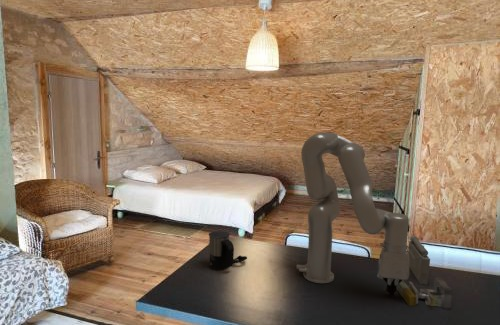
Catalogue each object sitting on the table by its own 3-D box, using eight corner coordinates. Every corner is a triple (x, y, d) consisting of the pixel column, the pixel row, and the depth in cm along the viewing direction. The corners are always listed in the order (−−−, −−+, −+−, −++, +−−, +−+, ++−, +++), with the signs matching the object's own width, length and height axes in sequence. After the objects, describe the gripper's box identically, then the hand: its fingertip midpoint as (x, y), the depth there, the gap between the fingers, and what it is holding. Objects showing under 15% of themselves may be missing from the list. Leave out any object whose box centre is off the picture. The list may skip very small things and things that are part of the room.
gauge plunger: (416, 306, 117) (417, 295, 117) (407, 292, 127) (408, 281, 126) (450, 309, 116) (451, 298, 115) (438, 295, 125) (439, 284, 125)
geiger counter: (434, 252, 132) (416, 231, 156) (417, 250, 133) (401, 230, 157) (430, 285, 134) (413, 259, 158) (413, 283, 135) (399, 258, 159)
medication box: (395, 289, 130) (396, 279, 130) (402, 289, 130) (403, 279, 130) (408, 306, 118) (409, 296, 118) (416, 306, 118) (416, 296, 118)
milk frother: (204, 266, 146) (204, 234, 144) (225, 254, 159) (226, 225, 157) (230, 275, 138) (230, 241, 136) (250, 262, 151) (251, 231, 149)
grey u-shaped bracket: (427, 306, 118) (429, 288, 117) (419, 293, 127) (420, 276, 126) (450, 308, 117) (452, 290, 116) (439, 295, 126) (441, 277, 125)
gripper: (376, 249, 119) (372, 297, 122) (420, 252, 117) (415, 301, 119) (371, 241, 126) (368, 286, 129) (413, 244, 124) (408, 290, 127)
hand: (390, 293), depth 124 cm, fingers closed
